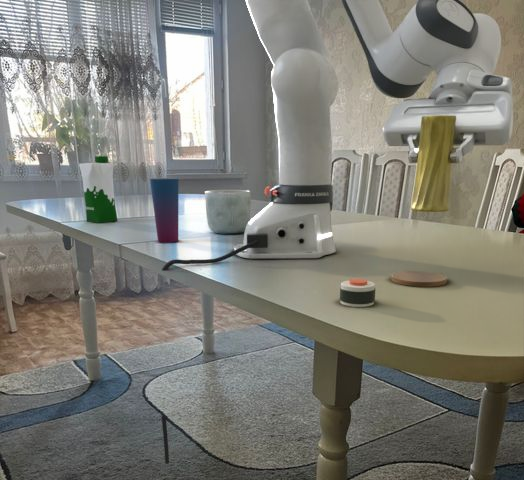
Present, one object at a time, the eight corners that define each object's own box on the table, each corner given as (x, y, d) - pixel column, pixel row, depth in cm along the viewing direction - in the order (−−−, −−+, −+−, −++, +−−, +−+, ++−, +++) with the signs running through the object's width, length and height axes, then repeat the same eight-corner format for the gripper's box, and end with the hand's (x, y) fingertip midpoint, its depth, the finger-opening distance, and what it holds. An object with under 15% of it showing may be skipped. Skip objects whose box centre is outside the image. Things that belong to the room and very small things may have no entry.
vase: (405, 208, 92) (412, 117, 87) (439, 208, 93) (449, 117, 88) (419, 212, 86) (428, 114, 81) (455, 211, 87) (466, 115, 82)
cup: (187, 240, 136) (184, 178, 131) (169, 244, 131) (165, 179, 126) (167, 238, 140) (163, 177, 135) (148, 242, 134) (143, 178, 129)
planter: (219, 228, 158) (217, 189, 154) (258, 230, 153) (257, 190, 150) (198, 234, 147) (196, 192, 143) (239, 236, 143) (238, 193, 139)
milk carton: (121, 220, 178) (115, 156, 171) (97, 223, 171) (90, 156, 164) (105, 219, 183) (99, 156, 176) (82, 221, 176) (74, 156, 170)
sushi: (346, 308, 76) (347, 285, 75) (335, 299, 80) (335, 277, 79) (379, 306, 77) (381, 283, 76) (366, 297, 81) (368, 276, 80)
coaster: (405, 288, 87) (405, 283, 87) (383, 276, 95) (383, 272, 95) (456, 285, 88) (457, 280, 88) (430, 274, 97) (431, 269, 96)
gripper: (393, 85, 93) (367, 145, 89) (521, 77, 83) (500, 144, 79) (399, 115, 98) (376, 173, 94) (521, 110, 88) (501, 175, 84)
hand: (433, 160), depth 86 cm, fingers closed on vase, 5 cm apart
